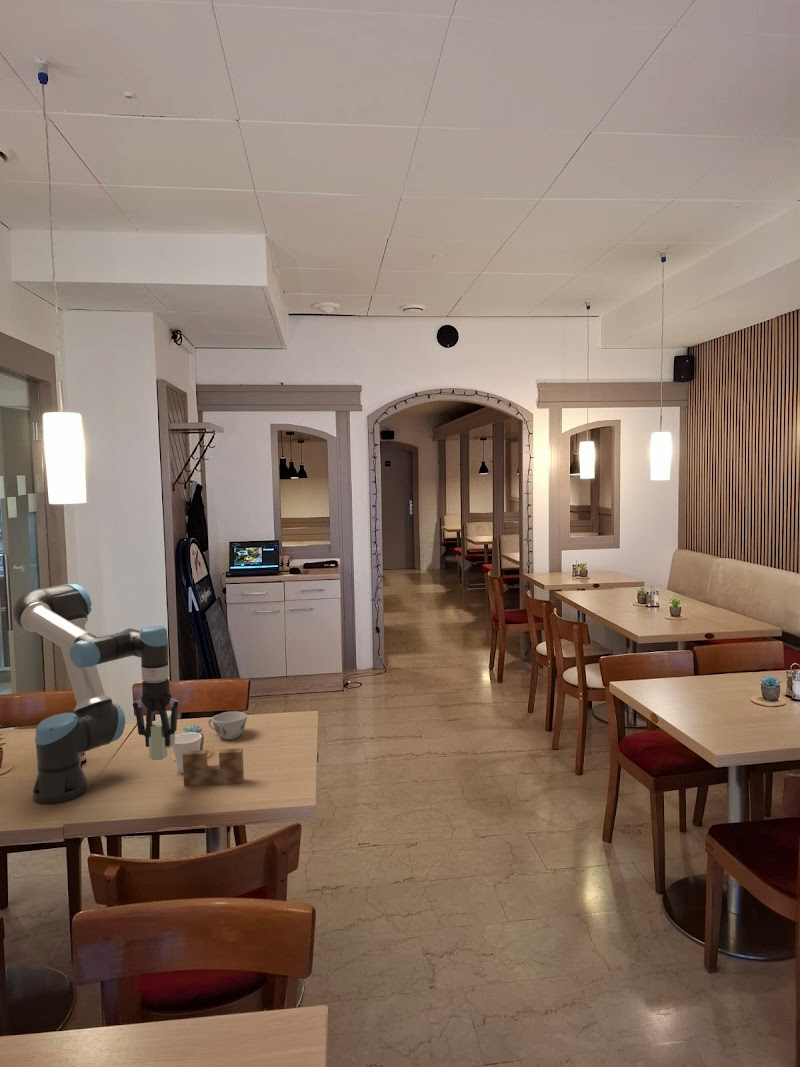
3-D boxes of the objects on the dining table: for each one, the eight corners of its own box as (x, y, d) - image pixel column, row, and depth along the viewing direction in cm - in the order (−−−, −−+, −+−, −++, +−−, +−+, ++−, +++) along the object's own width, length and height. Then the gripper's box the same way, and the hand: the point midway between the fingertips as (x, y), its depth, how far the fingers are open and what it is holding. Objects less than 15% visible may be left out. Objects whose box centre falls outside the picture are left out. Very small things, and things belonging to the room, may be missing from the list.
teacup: (253, 732, 266) (252, 711, 265) (238, 744, 254) (237, 722, 253) (217, 729, 269) (216, 709, 269) (200, 741, 257) (199, 720, 256)
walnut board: (184, 785, 220) (182, 754, 219) (186, 781, 223) (184, 750, 222) (242, 783, 221) (240, 752, 220) (243, 779, 224) (242, 748, 223)
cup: (194, 777, 226) (192, 744, 225) (166, 775, 228) (164, 742, 227) (208, 765, 236) (207, 732, 235) (181, 763, 238) (180, 731, 237)
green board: (162, 759, 208) (161, 726, 207) (152, 760, 208) (150, 727, 207) (175, 741, 222) (173, 710, 221) (165, 741, 222) (164, 710, 221)
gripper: (123, 683, 203) (126, 762, 205) (180, 682, 204) (182, 761, 206) (131, 676, 210) (135, 752, 212) (186, 675, 211) (189, 751, 213)
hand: (158, 756), depth 209 cm, fingers closed on green board, 3 cm apart
